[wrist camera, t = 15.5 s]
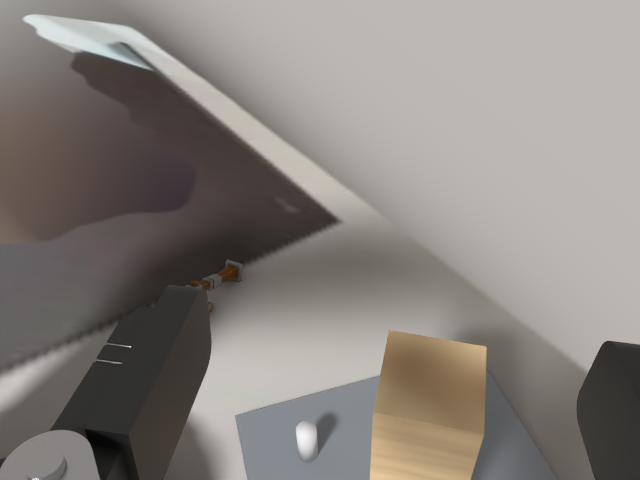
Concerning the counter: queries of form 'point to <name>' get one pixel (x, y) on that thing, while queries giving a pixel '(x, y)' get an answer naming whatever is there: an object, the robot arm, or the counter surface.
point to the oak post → (428, 409)
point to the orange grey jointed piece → (219, 278)
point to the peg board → (368, 438)
